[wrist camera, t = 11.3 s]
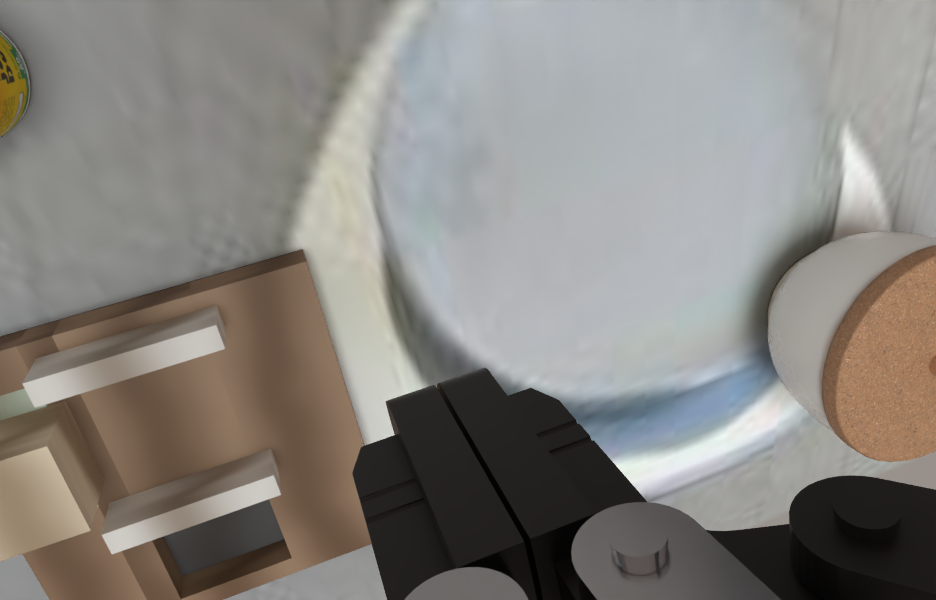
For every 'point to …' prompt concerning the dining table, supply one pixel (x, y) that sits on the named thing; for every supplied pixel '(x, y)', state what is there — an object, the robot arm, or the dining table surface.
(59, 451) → the birch block
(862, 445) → the lidded bowl
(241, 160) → the dining table surface
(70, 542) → the channel deck
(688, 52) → the dining table surface
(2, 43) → the supplement bottle
